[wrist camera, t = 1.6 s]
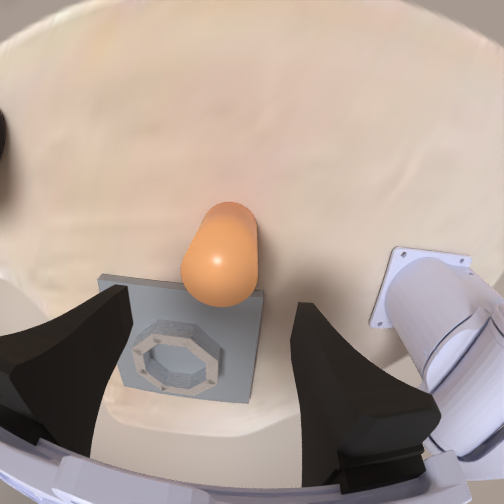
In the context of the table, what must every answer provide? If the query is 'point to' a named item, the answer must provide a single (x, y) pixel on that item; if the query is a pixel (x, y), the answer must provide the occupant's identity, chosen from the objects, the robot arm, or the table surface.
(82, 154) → the table surface
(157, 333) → the ring socket
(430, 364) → the robot arm
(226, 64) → the table surface
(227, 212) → the plug
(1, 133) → the camera lens
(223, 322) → the base plate
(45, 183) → the table surface
